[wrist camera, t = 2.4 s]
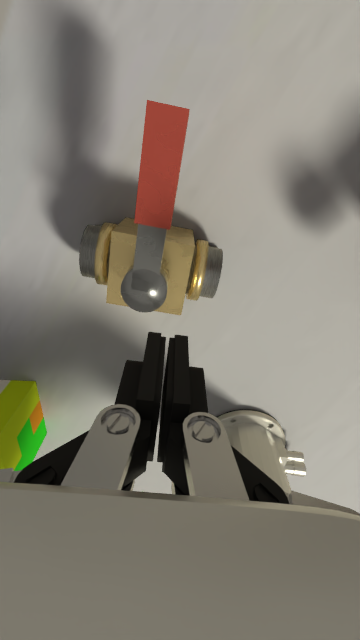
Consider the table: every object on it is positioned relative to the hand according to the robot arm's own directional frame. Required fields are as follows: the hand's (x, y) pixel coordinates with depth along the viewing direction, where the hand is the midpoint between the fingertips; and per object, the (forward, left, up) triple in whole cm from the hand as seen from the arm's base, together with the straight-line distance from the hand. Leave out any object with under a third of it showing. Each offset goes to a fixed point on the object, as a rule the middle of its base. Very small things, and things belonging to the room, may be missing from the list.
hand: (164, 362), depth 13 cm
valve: (+2, +2, -22) cm, 22 cm away
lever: (+2, -4, -13) cm, 14 cm away
